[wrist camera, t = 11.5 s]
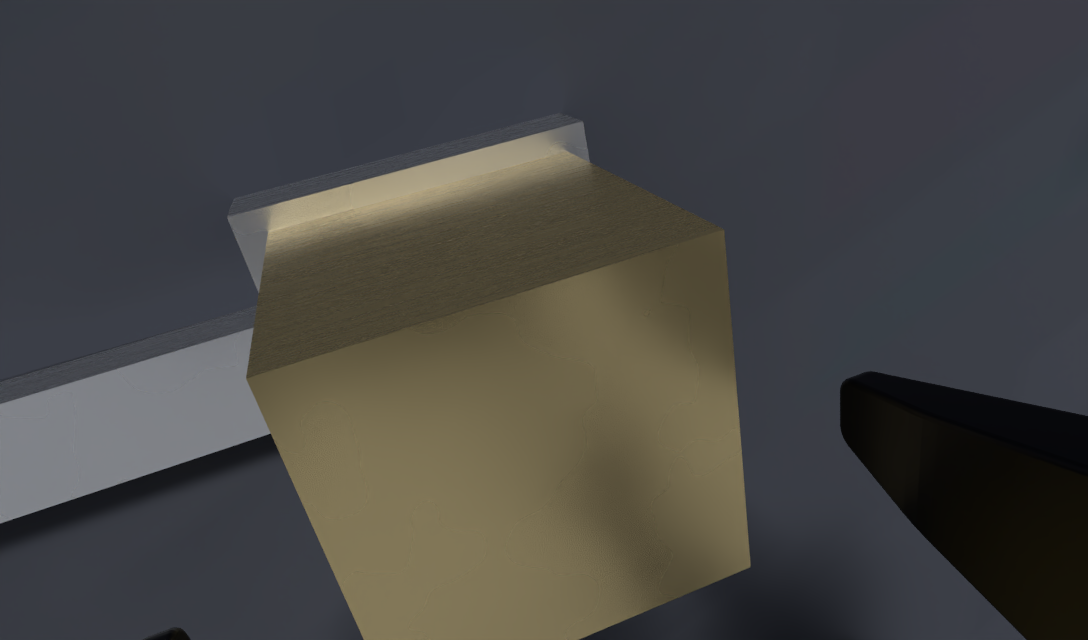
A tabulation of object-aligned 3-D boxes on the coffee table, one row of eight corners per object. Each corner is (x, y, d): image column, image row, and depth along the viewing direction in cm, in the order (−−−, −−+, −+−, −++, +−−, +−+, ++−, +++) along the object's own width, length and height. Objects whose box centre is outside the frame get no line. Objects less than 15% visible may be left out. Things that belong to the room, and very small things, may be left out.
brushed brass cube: (567, 151, 14) (724, 229, 9) (610, 395, 17) (750, 566, 12) (268, 232, 13) (245, 377, 8) (365, 481, 16) (398, 716, 10)
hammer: (558, 112, 15) (648, 145, 11) (607, 379, 18) (690, 477, 14) (-357, 354, 12) (-678, 518, 8) (-110, 629, 15) (-254, 844, 11)
